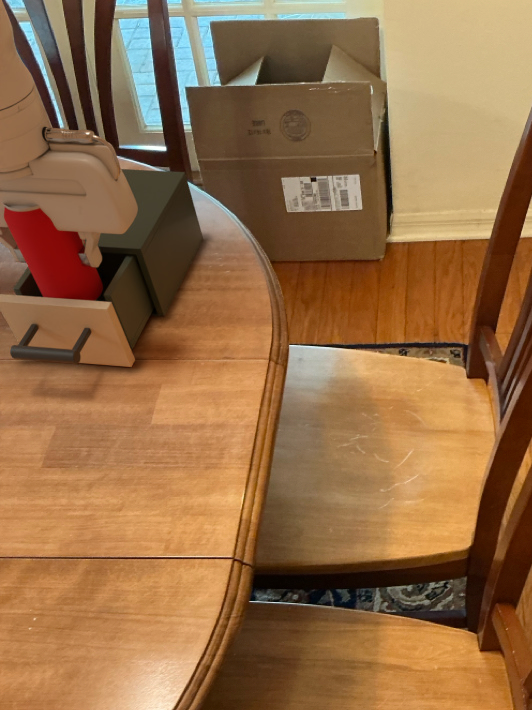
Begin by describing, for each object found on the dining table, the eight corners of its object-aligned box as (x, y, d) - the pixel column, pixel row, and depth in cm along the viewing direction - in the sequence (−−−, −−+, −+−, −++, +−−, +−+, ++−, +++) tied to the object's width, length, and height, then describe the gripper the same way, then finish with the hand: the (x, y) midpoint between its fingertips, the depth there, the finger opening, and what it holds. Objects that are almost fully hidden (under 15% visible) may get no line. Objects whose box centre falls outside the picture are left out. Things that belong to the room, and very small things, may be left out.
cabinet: (165, 320, 91) (140, 248, 83) (58, 312, 92) (23, 241, 85) (204, 243, 100) (185, 171, 92) (105, 237, 101) (78, 166, 94)
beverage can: (102, 275, 86) (60, 171, 76) (108, 308, 83) (64, 203, 73) (45, 287, 85) (-5, 183, 75) (48, 321, 82) (-4, 217, 72)
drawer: (115, 398, 82) (89, 340, 76) (7, 388, 84) (-28, 331, 77) (173, 286, 93) (154, 227, 87) (77, 279, 95) (51, 221, 88)
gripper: (120, 113, 70) (164, 249, 81) (-87, 105, 72) (-16, 238, 83) (93, 149, 66) (143, 286, 77) (-123, 139, 68) (-44, 273, 79)
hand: (59, 261), depth 80 cm, fingers closed on beverage can, 6 cm apart
